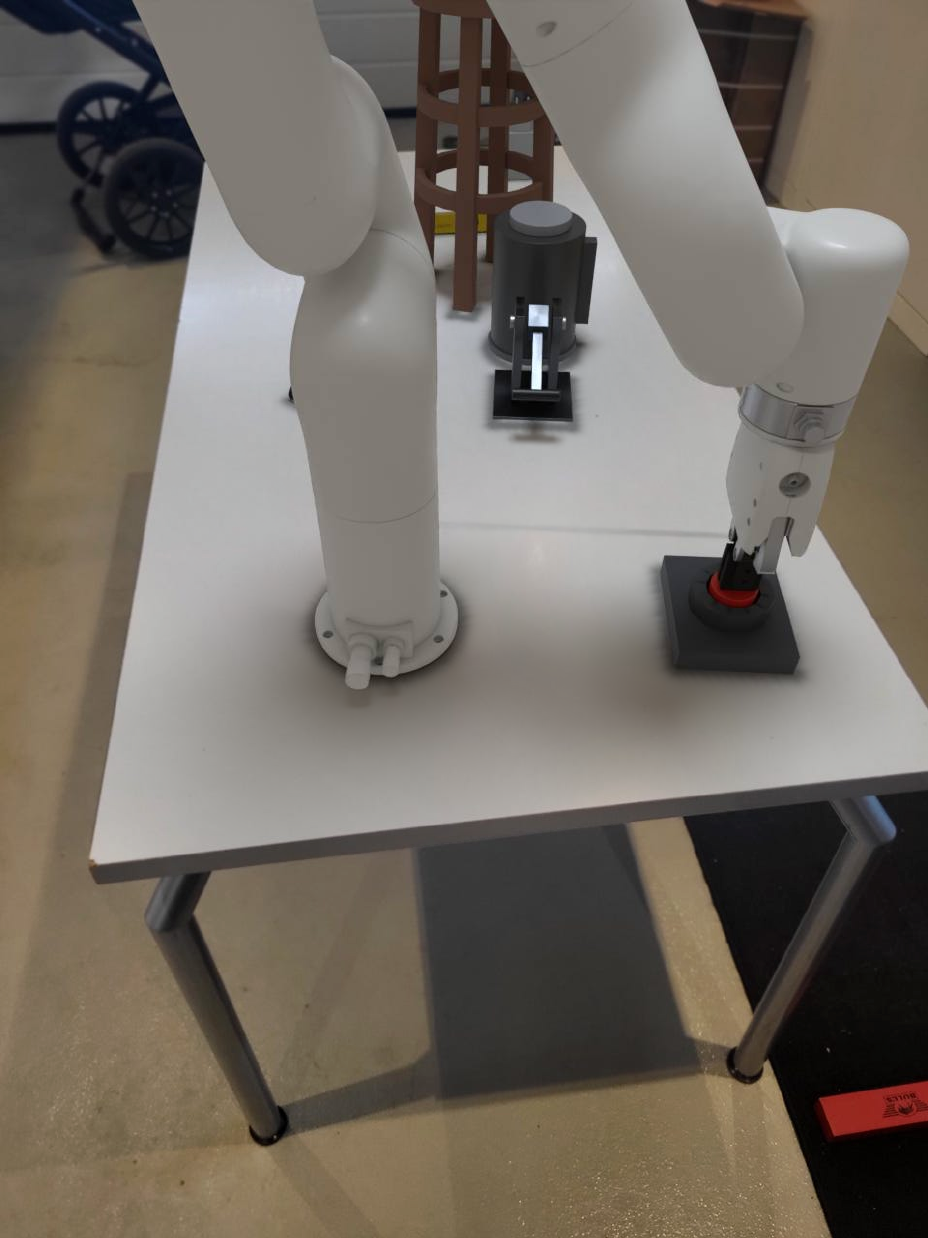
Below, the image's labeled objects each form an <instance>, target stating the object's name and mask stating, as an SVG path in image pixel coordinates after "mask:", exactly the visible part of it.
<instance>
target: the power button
mask: <svg viewBox="0 0 928 1238" xmlns="http://www.w3.org/2000/svg"><path fill="white" fill-rule="evenodd" d="M717 573H718V572H716V573H715V574H714V575H713V576H712V578H711V582H710V585H709V589H708V593H709V594H710V595H711V597H712V598H713V599H714V600H715V601H716V602H719V603H721V604H724V605H726V606H728V607H733V608H746V607H749V606H751V605H753V604H754V602H755V599H756V596H757V593H758V589H757V590H756V591H733V590H721V589H720V586H719V582H720V581H719V580H718V577H717Z"/></svg>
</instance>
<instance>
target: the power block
mask: <svg viewBox="0 0 928 1238" xmlns="http://www.w3.org/2000/svg"><path fill="white" fill-rule="evenodd" d="M722 557H723V556H722ZM722 557H721V556H698V555H697V556H696V555H695V556H694V555H670V554H669V555H668V554H665V555H663V558H662V565H661V568H660V573H659V574H660V578H661V584H662V592H663V599H664V605H665V613H666V618H667V627H668V633H669V639H670V645H671V652H672V658H673V665H674V669H676V670H691V671H693V670H694V671H695V670H696V671H715V672H717V671H718V672H738V673H739V672H741V673H764V674H765V673H766V674H785V675H786V674H787V675H788V674H789V675H793V674H794V673H795V670H796V668H797V665H798V663H799V661H800V659H801V655H800V651H799V648H798V644H797V641H796V636H795V634H794V630H793V626H792V623H791V619H790V616H789V614H788V609H787V605H786V602H785V598H784V594H783V591H782V588H781V583H780V581H779V576H778V572H777V571H776V572H775V574H774V575H766V574H763V575H762V578H761V581H760V584H759V587H758V593H757V596H756V599H755V602H754V604H753V605H751V606H749V607H746V608H733V607H728V606H726V605H724V604H721V603H719V602H716V601H715V600H714V599H713V598H712V597H711V595H710V594H709V593H708V589H709V585H710V582H711V578H712V576H713V575H714V574H715V573H716V572H718V570H719V567H720V563H721V560H722Z"/></svg>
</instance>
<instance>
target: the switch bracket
mask: <svg viewBox="0 0 928 1238" xmlns="http://www.w3.org/2000/svg"><path fill="white" fill-rule="evenodd" d="M524 323H525V297H516V302H515V315H510V328H511V329H514V340H513V359H512V363H511V369H499V368H498V369H497V368H496V369H494V378H493V379H494V381H493V398H492V399H493V400H492V403H493V404H492V420H507V421H508V420H510V421H537V422H539V421H540V422H541V421H542V422H565V423H566V422H569V423H573V422H574V412H573V397H572V381H571V380H572V379H571V371H559V363H560V362H559V354H560V344H561V333H562V330H565V329H566V317H563V310H562V298H553V300H552V312H551V323H550V335H549V347H548V359H547V365H546V370H542V389H558V390H560V401H535V400H512V389H513V388H528V389H531V370H529V369H528V370H525V369H524V370H523V365H522V356H523V340H524Z"/></svg>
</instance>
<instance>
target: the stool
mask: <svg viewBox="0 0 928 1238" xmlns="http://www.w3.org/2000/svg"><path fill="white" fill-rule="evenodd" d="M411 3H412V4H413V5H415V6H416V7H418V8H419V16H418V18H419V19H418V20H419V21H418V24H419V25H418V52H417V83H416V85H417V86H416V114H415V115H416V117H415V146H414V147H415V148H414V149H415V152H414V154H415V155H414V180H413V181H414V182H413V183H414V184H413V202H414V206H415V209H416V212H417V215H418V218H419V221H420V224H421V227H422V230H423V234H424V237H425V240H426V243H427V246H428V250H429V253H430V256H431V260H432V264H433V268H434V269H435V243H436V241H435V239H436V238H435V237H436V234H435V212H436V208H439V209H441V210H444V211H448V212H455V233H454V249H453V250H454V252H453V253H454V256H453V289H452V291H453V292H452V310H453V311H457V312H464V313H472V312H473V310H474V308H475V306H476V305H477V282H478V281H477V279H478V277H477V275H478V241H479V240H478V239H479V238H478V237H479V232H478V214H484V215H486V214H487V229H486V231H485V233H486V234H485V262H492V263H493V251H494V223H495V220H496V218H497V217H498V216H499V215H500V214H501V213H503V212H505V211H507V210H510V209H512V208H513V207H514V206H516V205H518V204H520V203H524V202H529V201H549V202H554V177H555V176H554V175H555V130H554V128H553V126H552V124H551V122H550V120H549V118H548V116H547V114H546V113H545V111H544V109H543V107H542V105H541V103H540V101H539V99H538V97H537V95H536V93H535V92H534V90H533V88H532V86H531V84H530V82H529V80H528V78H527V77H526V75H525V73H524V71H519V70H513V69H511V66H512V62H511V61H512V47H511V45H510V43H509V42H508V40H507V38H506V36H505V34H504V32H503V30H502V29H501V27H500V25H499V23H498V21H497V19H496V17H495V16H494V14H493V12H492V10H491V8H490V6H489V5H488V3H487V1H486V0H411ZM442 15H444V16H450V17H458V18H460V23H459V24H460V26H459V28H460V30H459V31H460V32H459V60H458V61H459V65H458V68H456V69H455V68H454V69H449V70H443V71H440V62H441V32H442V31H441V30H442V29H441V28H442V27H441V26H442ZM484 19H490V21H491V23H490V24H491V25H490V59H489V60H490V61H489V62H490V63H489V65H490V66H489V67H483V34H484V32H483V31H484V29H483V28H484ZM482 87H484V88H485V87H487V88H488V87H489V101H488V102H489V106H487V105H482ZM455 89H458V97H457V98H458V99H457V100H458V102H457V103H455V102H450V101H447V100H443V99H440V93H443V92H446V91H449V90H455ZM511 90H514V91H517V92H521V93H524V94H526V95H529V97H532V98H529V100H524V101H522V102H518V103H516V102H515V103H512V104H511ZM532 120H533V157H531V156H528V155H525V154H522V153H519V152H515V151H509V126H511V125H517V124H522V123H527V122H530V121H532ZM439 122H441V123H444V124H451V125H456V126H457V136H456V137H457V138H456V139H457V140H456V141H457V142H456V143H457V144H456V148H455V149H450V150H446V151H445V150H444V151H441V152H438V135H439V134H438V133H439V128H438V127H439ZM481 128H488V144H487V145H488V146H487V147H481ZM480 167H487V187H486V188H487V189H486V190H487V191H486V193H480ZM453 169H456V175H455V176H456V177H455V178H456V179H455V190H453V189H452V190H451V189H448V188H446V187H443V186H440V185H437V174H440V173H442V172H445V171H448V170H449V171H450V170H453ZM508 169H511V170H514V171H517V172H520V173H523V174H525V175H527V176H528V177H530V178H532V179H531V184H528V185H526V186H524V187H522V188H520V189H515V190H511V191H509V180H508Z"/></svg>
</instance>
